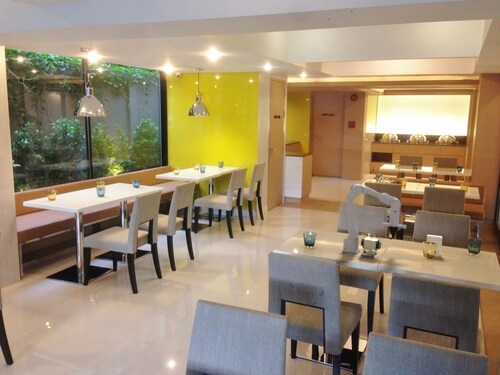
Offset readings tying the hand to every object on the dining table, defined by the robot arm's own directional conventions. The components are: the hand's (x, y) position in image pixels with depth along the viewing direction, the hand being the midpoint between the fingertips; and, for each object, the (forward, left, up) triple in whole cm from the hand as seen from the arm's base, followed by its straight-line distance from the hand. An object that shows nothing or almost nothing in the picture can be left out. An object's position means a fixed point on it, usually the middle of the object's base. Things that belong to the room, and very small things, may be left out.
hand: (393, 238), depth 286 cm
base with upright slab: (+24, +12, -11) cm, 29 cm away
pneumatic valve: (-12, -10, -11) cm, 19 cm away
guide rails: (-13, -10, -10) cm, 19 cm away
